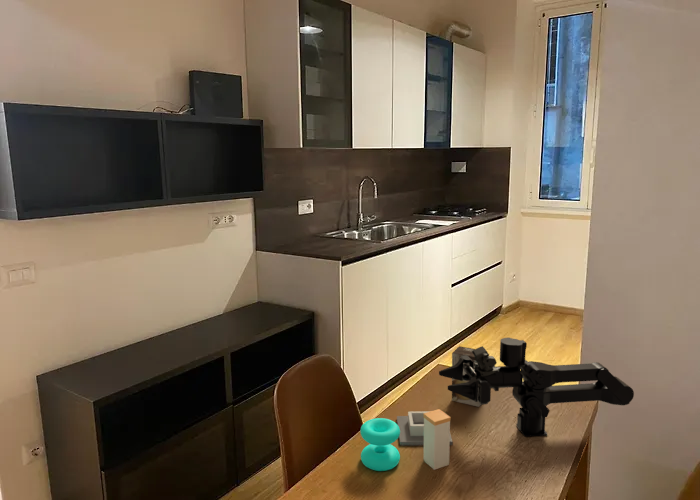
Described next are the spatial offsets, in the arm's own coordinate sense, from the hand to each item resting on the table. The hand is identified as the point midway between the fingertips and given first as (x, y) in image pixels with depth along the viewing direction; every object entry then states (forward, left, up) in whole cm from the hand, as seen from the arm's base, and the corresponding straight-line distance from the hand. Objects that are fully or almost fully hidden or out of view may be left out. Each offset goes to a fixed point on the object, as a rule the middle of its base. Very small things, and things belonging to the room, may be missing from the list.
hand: (443, 380), depth 147 cm
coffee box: (-13, -20, -17) cm, 29 cm away
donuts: (+19, +10, -17) cm, 27 cm away
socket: (+5, -3, -16) cm, 17 cm away
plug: (+5, +12, -17) cm, 21 cm away
